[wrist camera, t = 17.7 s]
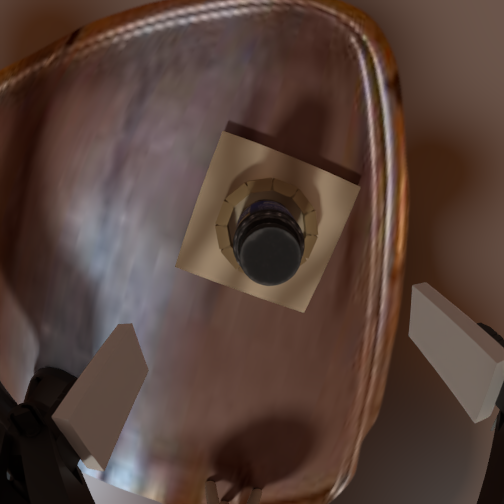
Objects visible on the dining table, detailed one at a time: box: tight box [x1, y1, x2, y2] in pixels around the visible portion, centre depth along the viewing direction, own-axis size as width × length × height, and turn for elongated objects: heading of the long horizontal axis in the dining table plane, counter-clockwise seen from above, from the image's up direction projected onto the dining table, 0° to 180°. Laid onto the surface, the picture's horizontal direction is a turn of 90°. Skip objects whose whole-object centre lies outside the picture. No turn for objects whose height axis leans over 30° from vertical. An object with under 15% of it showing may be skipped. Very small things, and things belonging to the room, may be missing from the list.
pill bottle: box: [233, 199, 305, 286], centre depth 29 cm, size 6×6×11 cm
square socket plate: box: [175, 131, 361, 313], centre depth 34 cm, size 16×16×3 cm
